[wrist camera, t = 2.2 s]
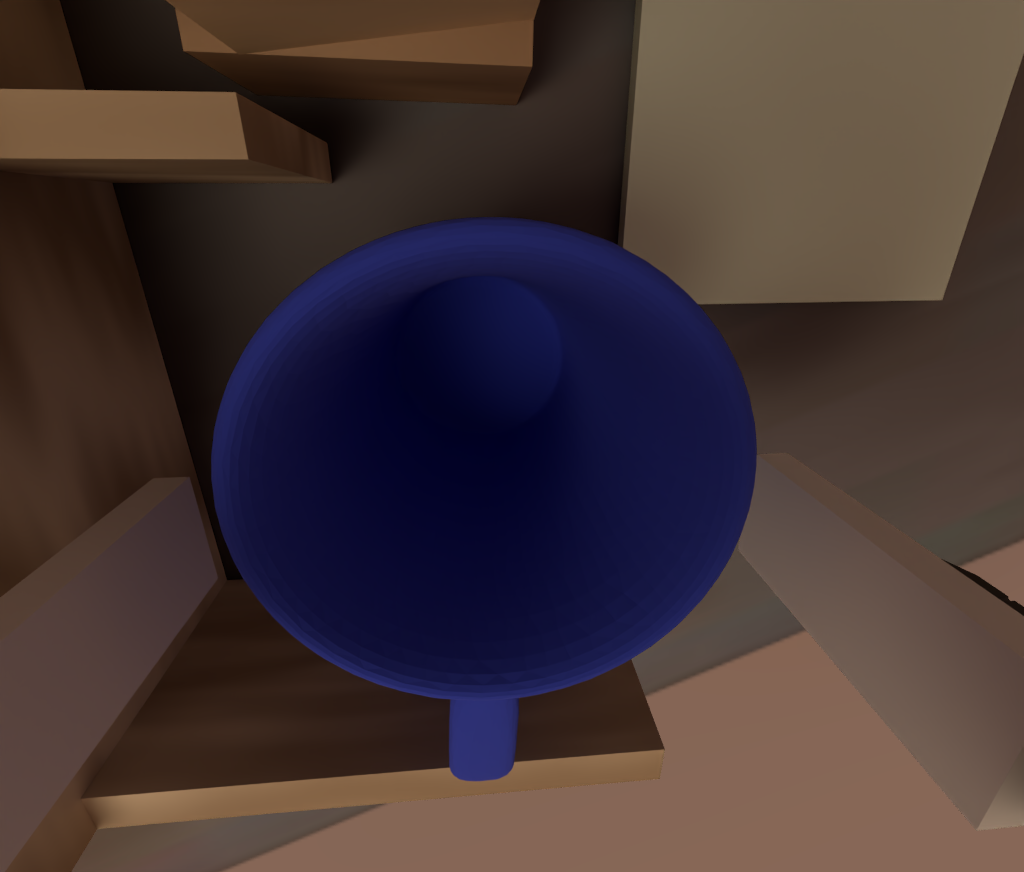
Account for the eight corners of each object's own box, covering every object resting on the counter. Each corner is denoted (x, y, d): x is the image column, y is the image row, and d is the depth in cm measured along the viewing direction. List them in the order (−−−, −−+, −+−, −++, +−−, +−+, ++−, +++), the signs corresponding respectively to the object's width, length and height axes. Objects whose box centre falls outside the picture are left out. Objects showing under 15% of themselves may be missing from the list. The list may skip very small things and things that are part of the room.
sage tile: (648, -167, 12) (656, -186, 11) (1067, -144, 13) (1094, -161, 12) (613, 302, 16) (618, 305, 16) (927, 297, 17) (942, 300, 17)
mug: (370, 550, 19) (283, 845, 10) (344, 211, 15) (138, 196, 5) (577, 549, 20) (668, 821, 11) (616, 226, 15) (833, 234, 6)
